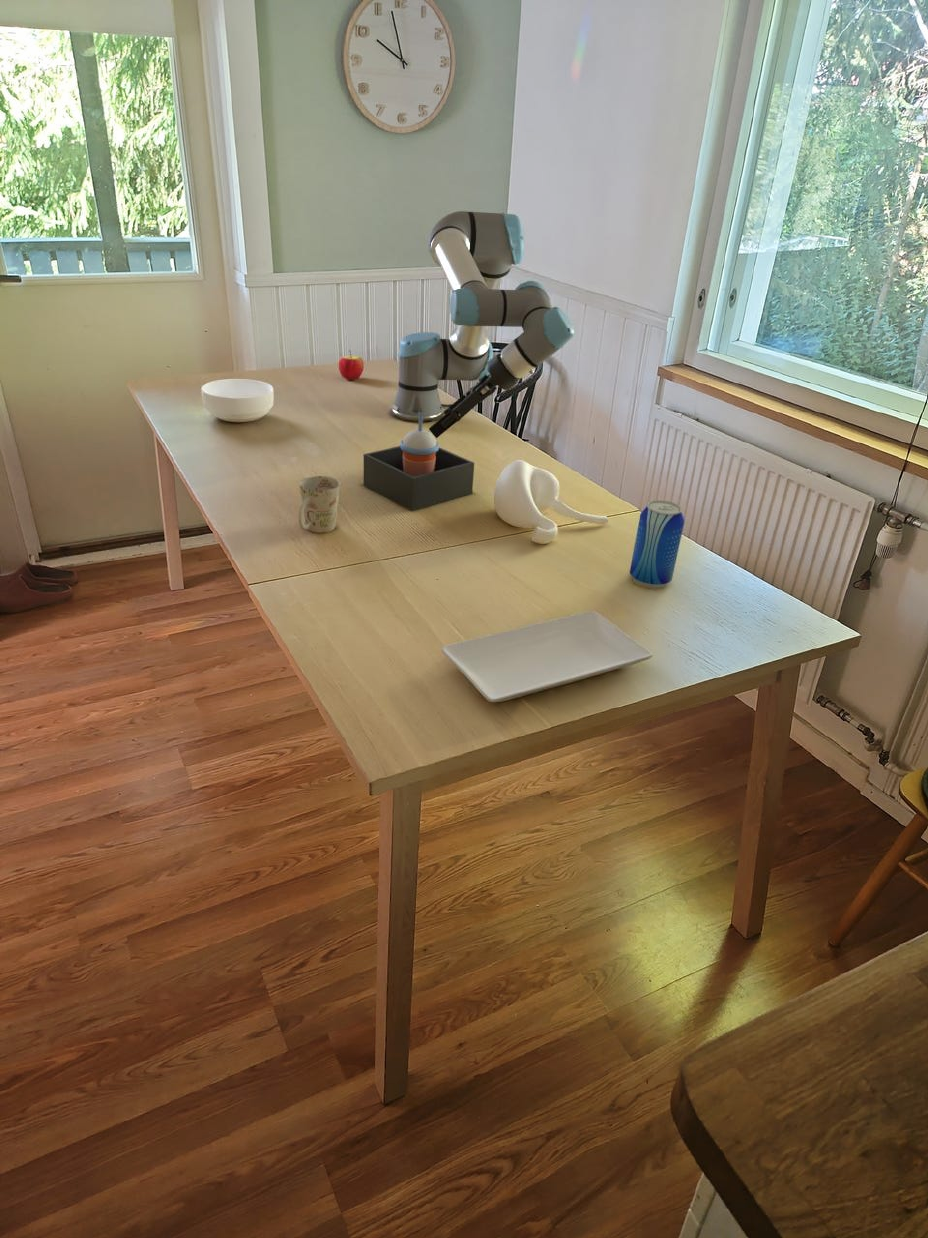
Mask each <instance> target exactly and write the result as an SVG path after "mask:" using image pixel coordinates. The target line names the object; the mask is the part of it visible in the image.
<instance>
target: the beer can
mask: <svg viewBox="0 0 928 1238" xmlns="http://www.w3.org/2000/svg"><path fill="white" fill-rule="evenodd" d="M682 511H683V508H682V506H680V505H679V504H678V503H675V502H673V501H670V500H663V499H654V500H651V501H648V502H647V503H646V507H645V508H644V509H643V510H641V512H640V515H639V521H638V525H637V531H636V535H635V541H634V547H633V552H632V557H631V562H630V567H629V574H630V576H631V578H632V581H633V582H634V583H635V585H637V586H640V587H642V588H645V589H650V590H658V589H659V590H660V589H664V588H666V586H668V584H669V583H670V582H672V580H673V577H674V573H675V572H674V571H675V567H676V562H677V557H678V554H679V549H680V544H681V540H682V535H683V530H684V526H685V518H684V515H683V513H682Z"/></svg>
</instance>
